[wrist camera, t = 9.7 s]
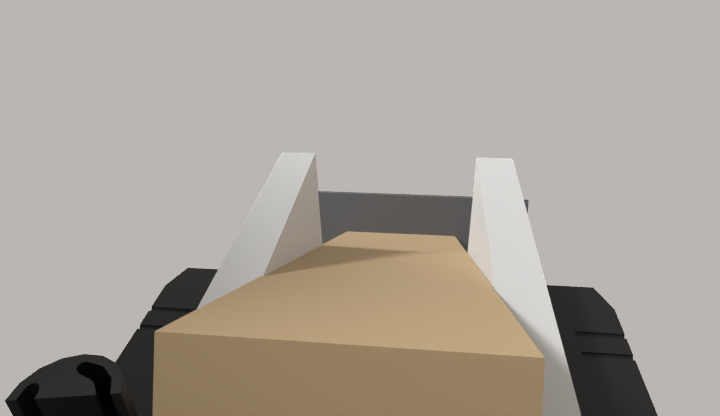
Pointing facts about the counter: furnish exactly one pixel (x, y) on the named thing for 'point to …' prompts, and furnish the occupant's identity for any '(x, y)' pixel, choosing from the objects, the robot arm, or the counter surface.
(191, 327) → the grey and tan block
